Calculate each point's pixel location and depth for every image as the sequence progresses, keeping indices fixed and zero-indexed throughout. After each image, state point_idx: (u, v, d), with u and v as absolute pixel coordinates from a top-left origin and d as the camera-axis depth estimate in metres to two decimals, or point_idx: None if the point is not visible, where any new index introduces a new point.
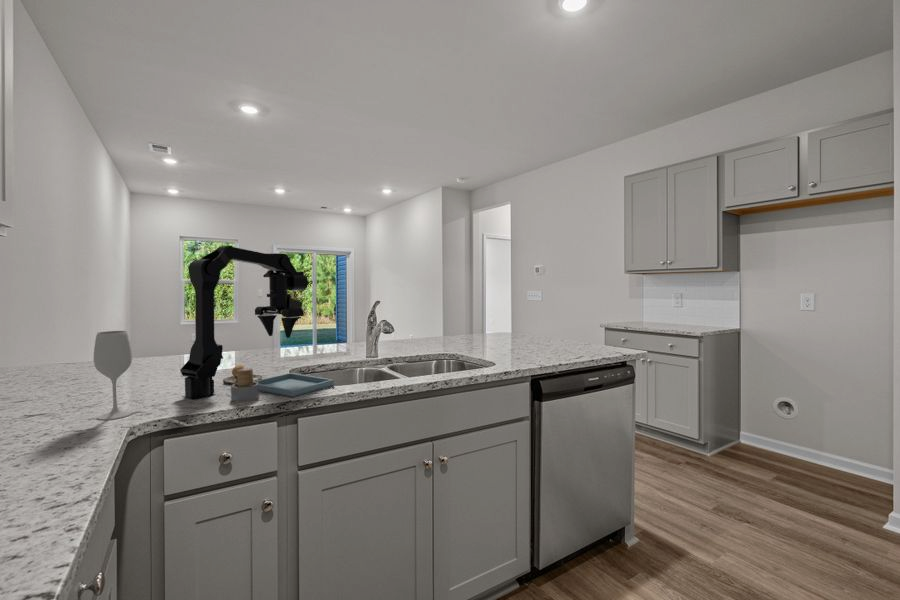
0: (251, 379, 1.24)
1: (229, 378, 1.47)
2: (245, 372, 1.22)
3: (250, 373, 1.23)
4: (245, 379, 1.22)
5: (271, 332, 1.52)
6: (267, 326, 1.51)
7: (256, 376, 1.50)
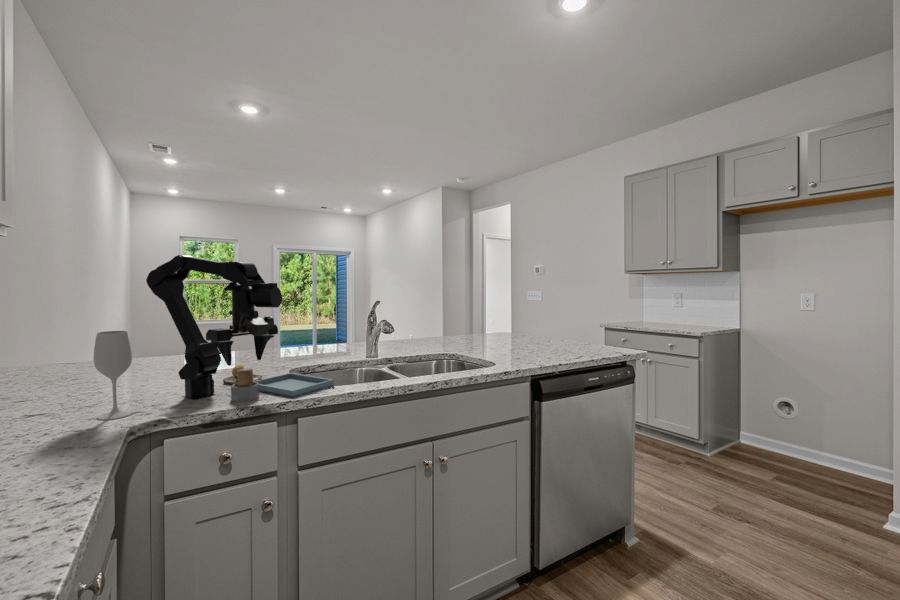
0: (251, 379, 1.24)
1: (229, 378, 1.47)
2: (245, 372, 1.22)
3: (250, 373, 1.23)
4: (245, 379, 1.22)
5: (258, 356, 1.27)
6: (256, 348, 1.28)
7: (256, 376, 1.50)
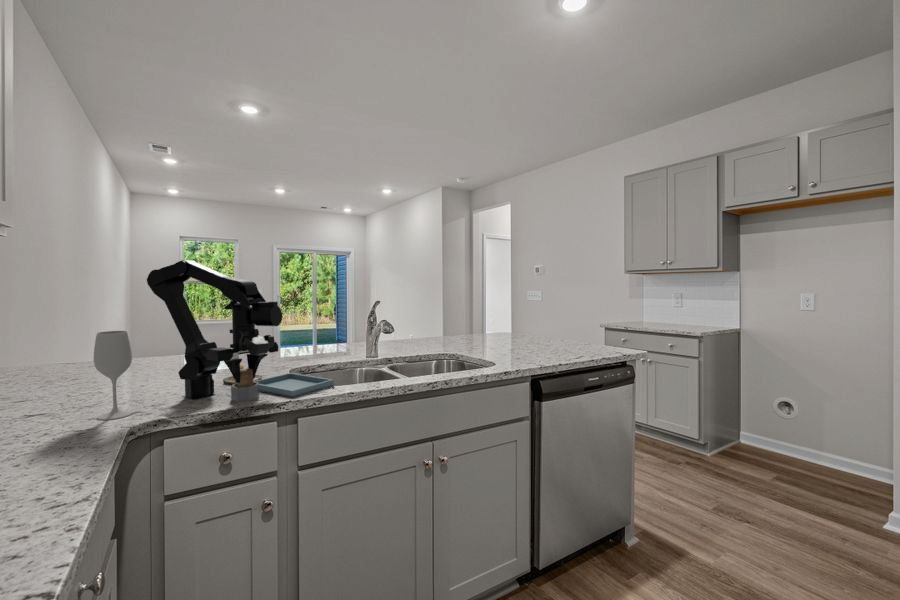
0: (251, 379, 1.24)
1: (229, 378, 1.47)
2: (245, 372, 1.22)
3: (250, 373, 1.23)
4: (245, 379, 1.22)
5: None
6: (249, 367, 1.26)
7: (256, 376, 1.50)
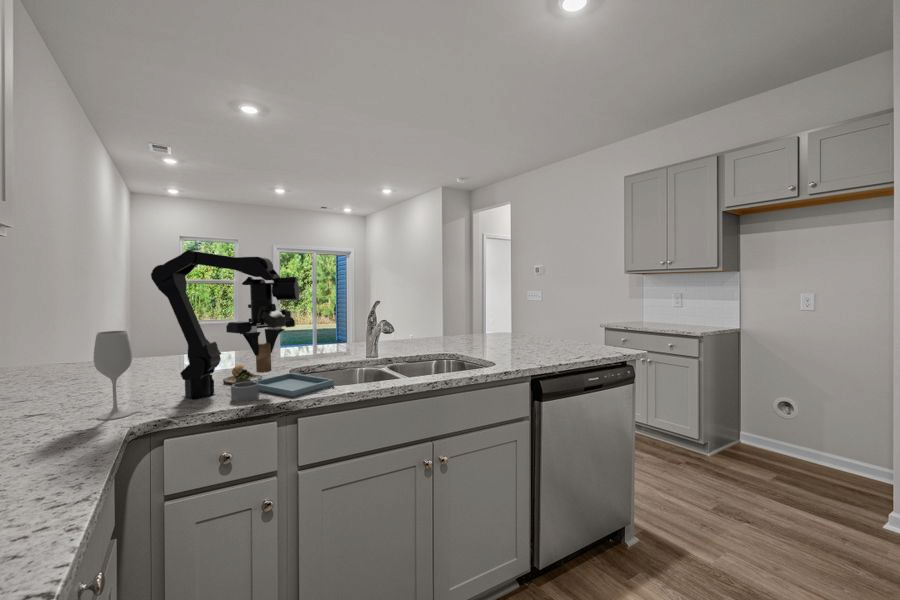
0: (269, 352, 1.28)
1: (229, 378, 1.47)
2: (263, 345, 1.26)
3: (268, 346, 1.27)
4: (264, 352, 1.26)
5: None
6: (267, 341, 1.30)
7: (256, 376, 1.50)
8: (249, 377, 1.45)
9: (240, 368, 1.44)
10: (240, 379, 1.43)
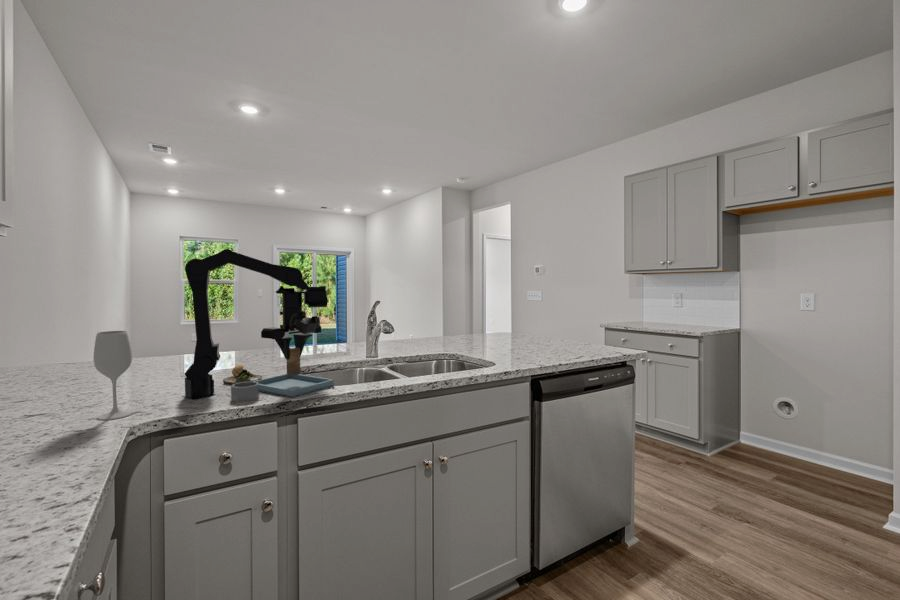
0: (299, 356, 1.37)
1: (229, 378, 1.47)
2: (294, 350, 1.35)
3: (298, 351, 1.36)
4: (294, 356, 1.35)
5: None
6: (296, 346, 1.39)
7: (256, 376, 1.50)
8: (249, 377, 1.45)
9: (240, 368, 1.44)
10: (240, 379, 1.43)
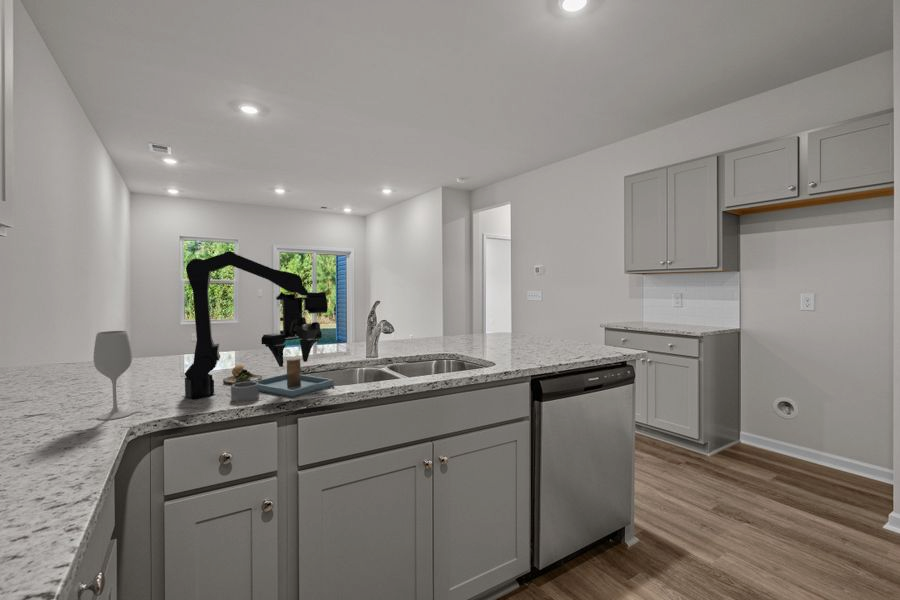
0: (299, 368, 1.37)
1: (229, 378, 1.47)
2: (294, 361, 1.35)
3: (298, 362, 1.36)
4: (294, 367, 1.35)
5: (304, 358, 1.41)
6: (302, 351, 1.42)
7: (256, 376, 1.50)
8: (249, 377, 1.45)
9: (240, 368, 1.44)
10: (240, 379, 1.43)
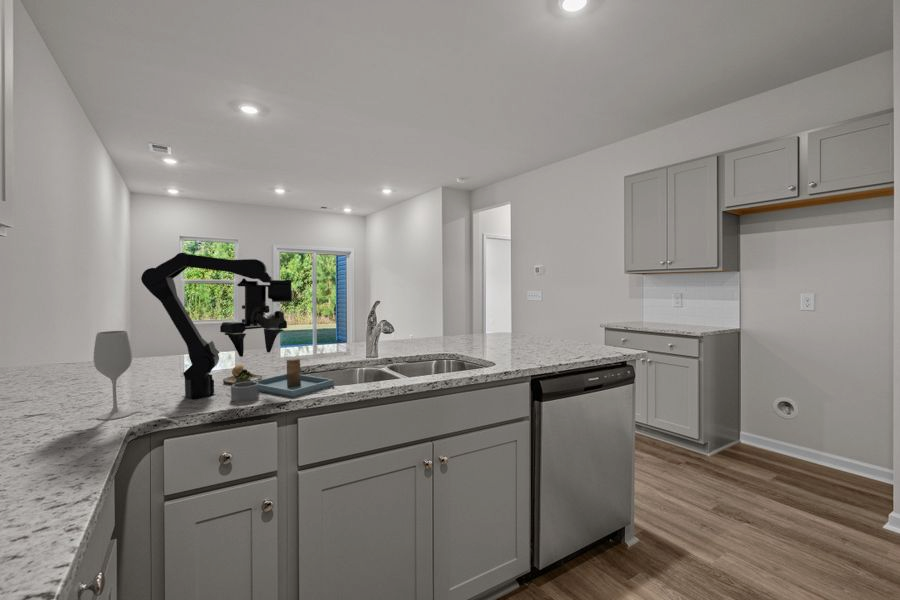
0: (299, 368, 1.37)
1: (229, 378, 1.47)
2: (294, 361, 1.35)
3: (298, 362, 1.36)
4: (294, 367, 1.35)
5: (267, 348, 1.35)
6: (266, 341, 1.35)
7: (256, 376, 1.50)
8: (249, 377, 1.45)
9: (240, 368, 1.44)
10: (240, 379, 1.43)
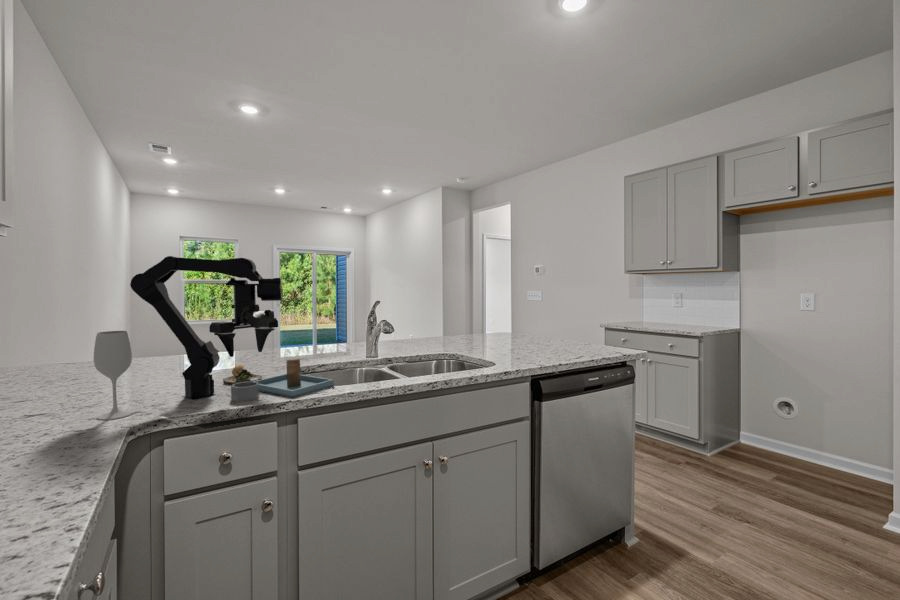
0: (299, 367, 1.37)
1: (229, 378, 1.47)
2: (294, 361, 1.35)
3: (298, 362, 1.36)
4: (294, 367, 1.35)
5: (259, 348, 1.33)
6: (257, 340, 1.34)
7: (256, 376, 1.50)
8: (249, 377, 1.45)
9: (240, 368, 1.44)
10: (240, 379, 1.43)
